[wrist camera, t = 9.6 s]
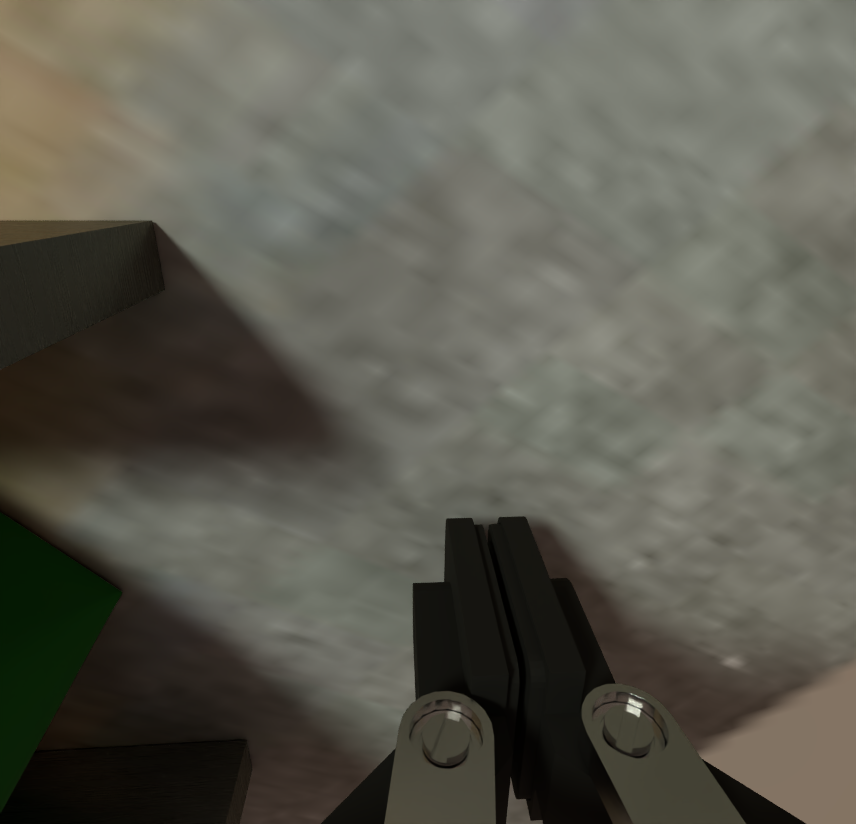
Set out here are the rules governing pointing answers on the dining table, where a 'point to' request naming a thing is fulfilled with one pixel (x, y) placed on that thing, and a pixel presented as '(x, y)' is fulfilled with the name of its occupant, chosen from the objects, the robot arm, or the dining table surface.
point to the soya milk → (40, 639)
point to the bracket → (19, 338)
